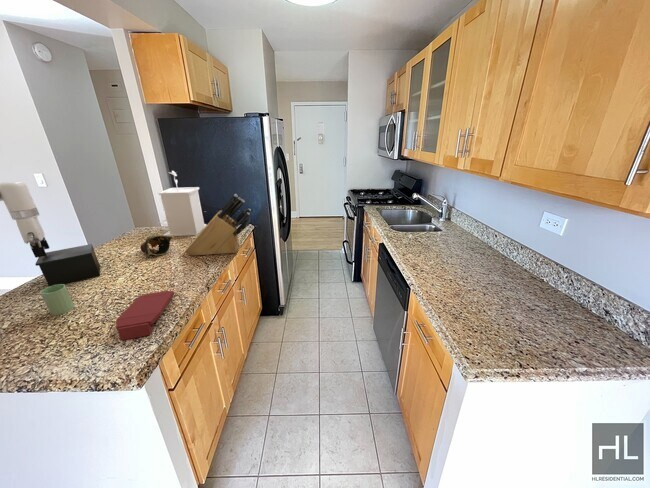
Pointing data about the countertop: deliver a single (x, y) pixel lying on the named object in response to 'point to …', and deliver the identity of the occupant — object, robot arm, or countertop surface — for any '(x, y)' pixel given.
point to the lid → (64, 254)
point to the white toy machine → (182, 210)
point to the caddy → (71, 270)
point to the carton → (142, 314)
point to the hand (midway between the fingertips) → (43, 252)
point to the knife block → (221, 231)
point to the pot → (156, 240)
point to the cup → (57, 299)
